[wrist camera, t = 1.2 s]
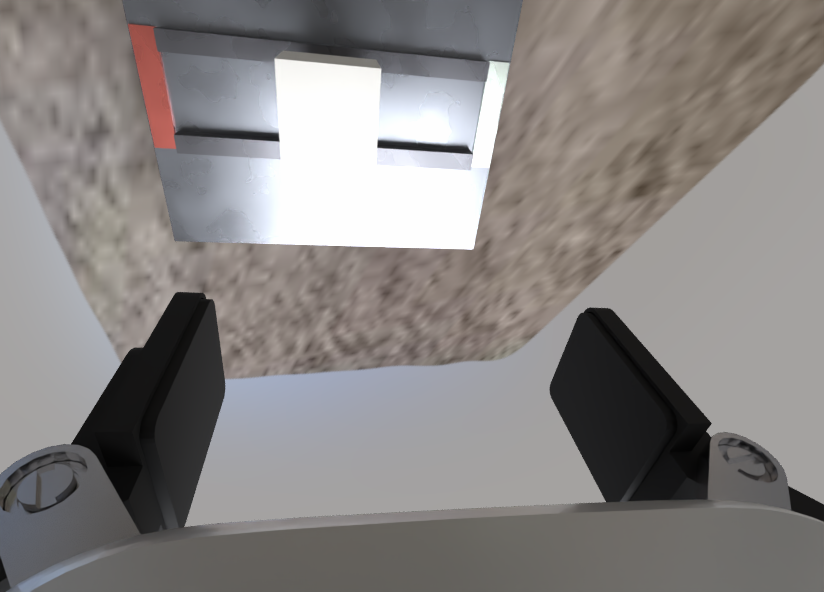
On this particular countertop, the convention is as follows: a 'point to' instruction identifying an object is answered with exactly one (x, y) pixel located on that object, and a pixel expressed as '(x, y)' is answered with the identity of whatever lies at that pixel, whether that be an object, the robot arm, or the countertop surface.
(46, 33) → the countertop surface
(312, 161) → the handle
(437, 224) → the slider base
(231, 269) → the countertop surface
